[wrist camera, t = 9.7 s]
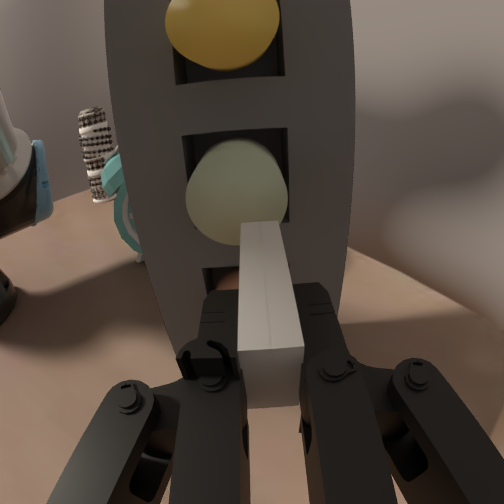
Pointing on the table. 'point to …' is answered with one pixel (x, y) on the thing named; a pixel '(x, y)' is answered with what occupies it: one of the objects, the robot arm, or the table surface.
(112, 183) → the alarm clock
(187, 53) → the mustard button
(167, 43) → the button panel
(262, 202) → the sage button
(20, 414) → the table surface
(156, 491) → the robot arm
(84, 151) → the leaning tower model
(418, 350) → the table surface
